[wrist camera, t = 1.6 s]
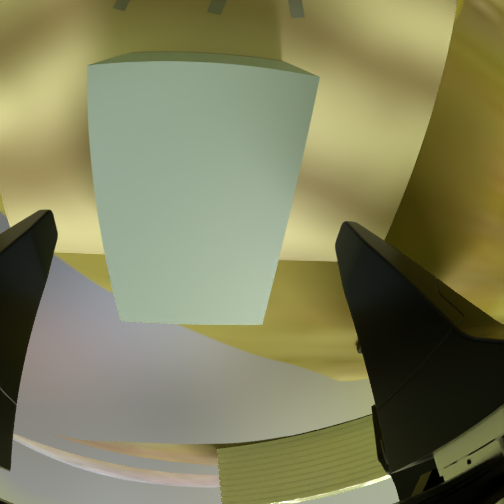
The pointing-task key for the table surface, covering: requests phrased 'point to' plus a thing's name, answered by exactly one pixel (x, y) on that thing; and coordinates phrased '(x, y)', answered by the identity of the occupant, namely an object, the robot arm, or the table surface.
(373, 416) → the robot arm
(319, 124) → the maple board
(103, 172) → the block
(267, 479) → the stack of papers
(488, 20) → the table surface
